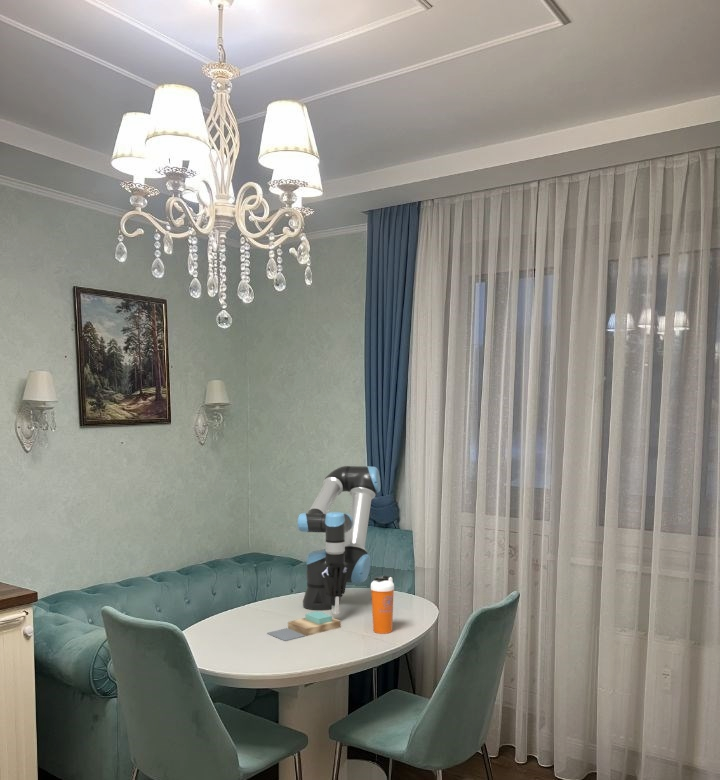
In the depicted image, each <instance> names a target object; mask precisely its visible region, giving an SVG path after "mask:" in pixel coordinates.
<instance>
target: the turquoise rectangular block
mask: <svg viewBox="0 0 720 780" xmlns="http://www.w3.org/2000/svg"><path fill="white" fill-rule="evenodd" d="M304 616H305V617H304V618H305V619H306V620H309V621H311V622H314V623H317V624H323V623H327V622H331V621H332V618H333V616H332V615H330V614H328V613H324V612H321V611H320V610H315V611H313V612H309V613H305V615H304Z"/></svg>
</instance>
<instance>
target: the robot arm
mask: <svg viewBox="0 0 720 780" xmlns="http://www.w3.org/2000/svg"><path fill="white" fill-rule="evenodd" d="M321 486H322V487H321V490H319V492H318V494H317V496H316V498H315V499H314V501H313V503H312V505H311V506H310V508H309V510H308V512H304V513H302V512H301V513H300V514H299V515H298V517H297V521H296V523H297V529H298V531H300V532H305V533H325V549H318V550H317V549H316V550H314V551H310V552H309V553H308V554H307V556H306V564H305V565H306V589H305V593H304V597H303V600H302V606H303V608H305V609H307V610H313V611H326V610H331V613H332V614H334V615H339V614H340V604H341V597H343V595H344V594H345V593H346V587H347V583H352V584H360V583H365V581H366V580H367V578H368V577H369V575H370V571H371V556H370V555H369V554H368V551H367V549H366V548H365V547H366V541H367V532H368V526H369V519H370V511H371V507H372V506H371V504H372V500H373V499H375V497H376V495H377V493H378V494H379V492H381V486H382V485H381V476H380V471H379V469H378V468H377V467H376V466H369V465H367V466H364V465H363V466H360V465H355V466H354V465H345V466H344V465H343V466H339V467H337V468H336V469H334V470H333V471H330V473H328V475H327V476H326V477H324V479H323V481H322V484H321ZM343 492H347V493H349V495H350V496H351V503H350V504H351V505H350V511H349V513H345V512H344V513H343V512H342V511H341V512H340V511H331V512H330V509H331V508H332V506H333V504H334V502H335V500H336V498H337V497H338V496H339V495H341V494H342V493H343ZM345 533H346V535H345Z"/></svg>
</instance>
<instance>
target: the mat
mask: <svg viewBox="0 0 720 780" xmlns="http://www.w3.org/2000/svg"><path fill="white" fill-rule="evenodd" d="M266 635H269V636H271V637H275V638H276V639H279V640H281V641H283V642H287V641H291V640H296V639H301V638H304V637H306V635H303V634H301V633H298V632H296V631H293V630H291V629H288V627H286V628H282V629H277V630H273V631H269V632H266Z"/></svg>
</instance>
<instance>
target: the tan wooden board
mask: <svg viewBox="0 0 720 780" xmlns="http://www.w3.org/2000/svg"><path fill="white" fill-rule="evenodd" d="M341 622H342V621H341V620H340V619H336V618H333V617H332V621H331V622H327V623H323V624H317V623H314V622H311V621H309V620H306V619H305V617H304V618H299V619H296V620H291V621H288V622H287V628H288V629H291V630H293V631H296V632H298V633H301V634H303V635H305V637H307V636H312V635H315V634H320V633H324V632H327V631H331V630H336V629H339V628H341V626H342V625H341V624H342V623H341Z"/></svg>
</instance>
